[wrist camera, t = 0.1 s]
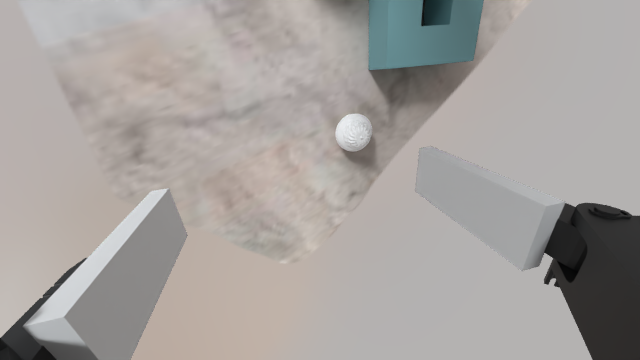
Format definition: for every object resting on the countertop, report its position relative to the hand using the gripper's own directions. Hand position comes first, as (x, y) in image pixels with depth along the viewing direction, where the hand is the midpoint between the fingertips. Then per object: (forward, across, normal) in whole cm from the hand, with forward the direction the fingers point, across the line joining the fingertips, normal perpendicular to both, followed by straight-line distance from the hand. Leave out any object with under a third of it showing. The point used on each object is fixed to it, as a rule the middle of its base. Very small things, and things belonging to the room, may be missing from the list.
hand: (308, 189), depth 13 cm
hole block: (+28, +23, +12) cm, 38 cm away
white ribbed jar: (+28, +12, -4) cm, 31 cm away
